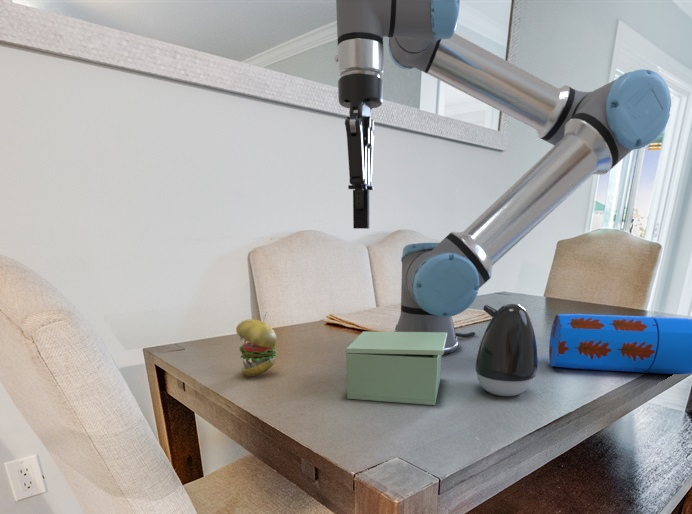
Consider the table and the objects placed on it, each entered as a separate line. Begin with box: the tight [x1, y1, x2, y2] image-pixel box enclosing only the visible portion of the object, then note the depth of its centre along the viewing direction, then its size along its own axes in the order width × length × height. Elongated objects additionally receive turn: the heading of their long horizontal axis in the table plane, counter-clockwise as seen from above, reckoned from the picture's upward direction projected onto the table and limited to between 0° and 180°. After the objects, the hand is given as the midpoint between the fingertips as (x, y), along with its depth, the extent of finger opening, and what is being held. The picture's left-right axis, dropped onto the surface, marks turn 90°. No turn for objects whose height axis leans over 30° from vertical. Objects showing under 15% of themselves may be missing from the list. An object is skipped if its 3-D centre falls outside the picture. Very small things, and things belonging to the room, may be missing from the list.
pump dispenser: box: [474, 303, 538, 397], centre depth 78 cm, size 10×10×15 cm
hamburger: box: [235, 311, 278, 377], centre depth 86 cm, size 8×7×12 cm
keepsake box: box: [345, 353, 443, 406], centre depth 80 cm, size 15×13×8 cm
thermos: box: [548, 313, 692, 375], centre depth 91 cm, size 11×11×25 cm
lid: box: [345, 330, 447, 356], centre depth 78 cm, size 15×13×1 cm
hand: (361, 228), depth 85 cm, fingers closed
